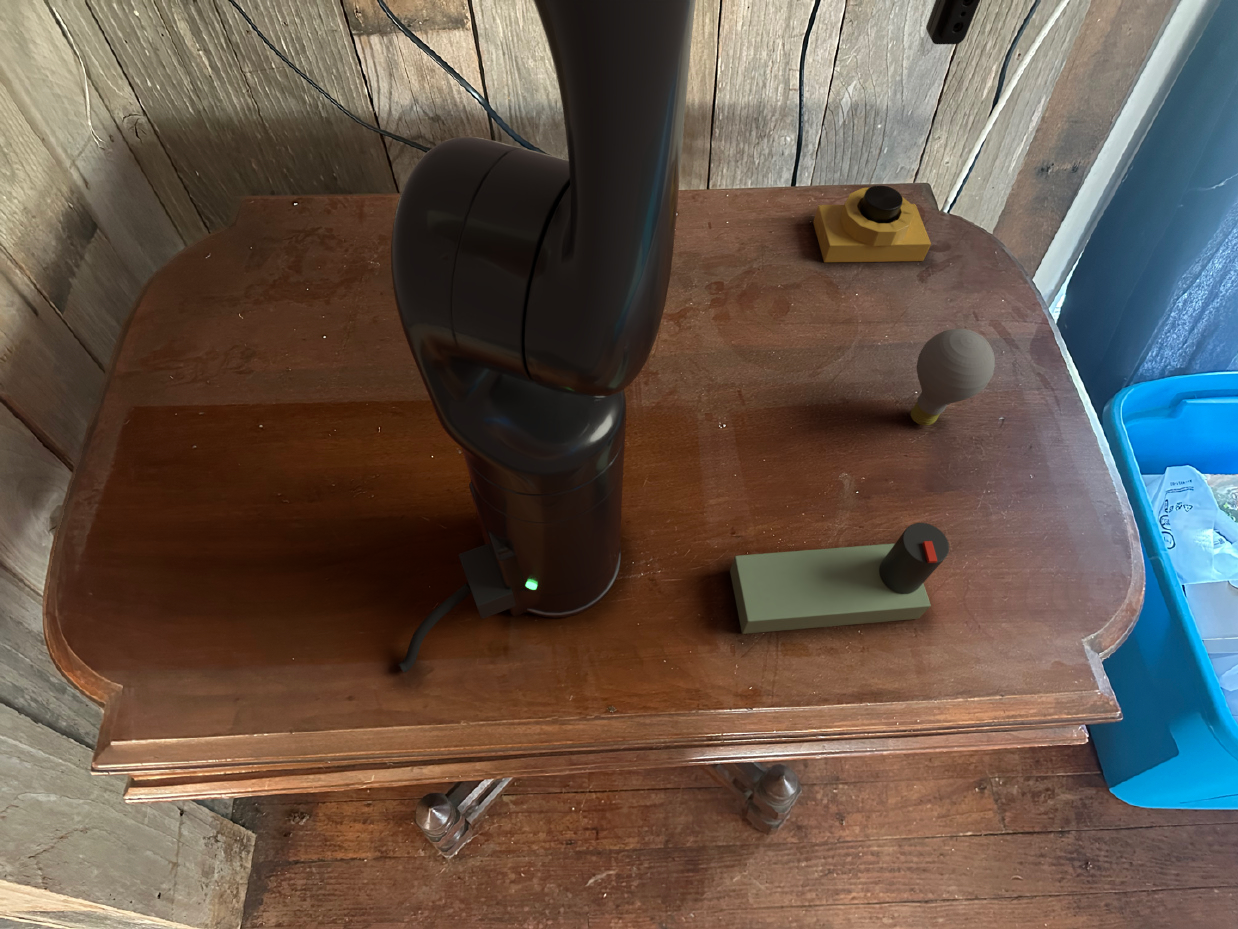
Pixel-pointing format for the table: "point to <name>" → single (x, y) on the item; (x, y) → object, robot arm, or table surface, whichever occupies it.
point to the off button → (881, 204)
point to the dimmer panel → (818, 590)
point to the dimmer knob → (913, 558)
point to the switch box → (869, 233)
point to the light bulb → (951, 371)
